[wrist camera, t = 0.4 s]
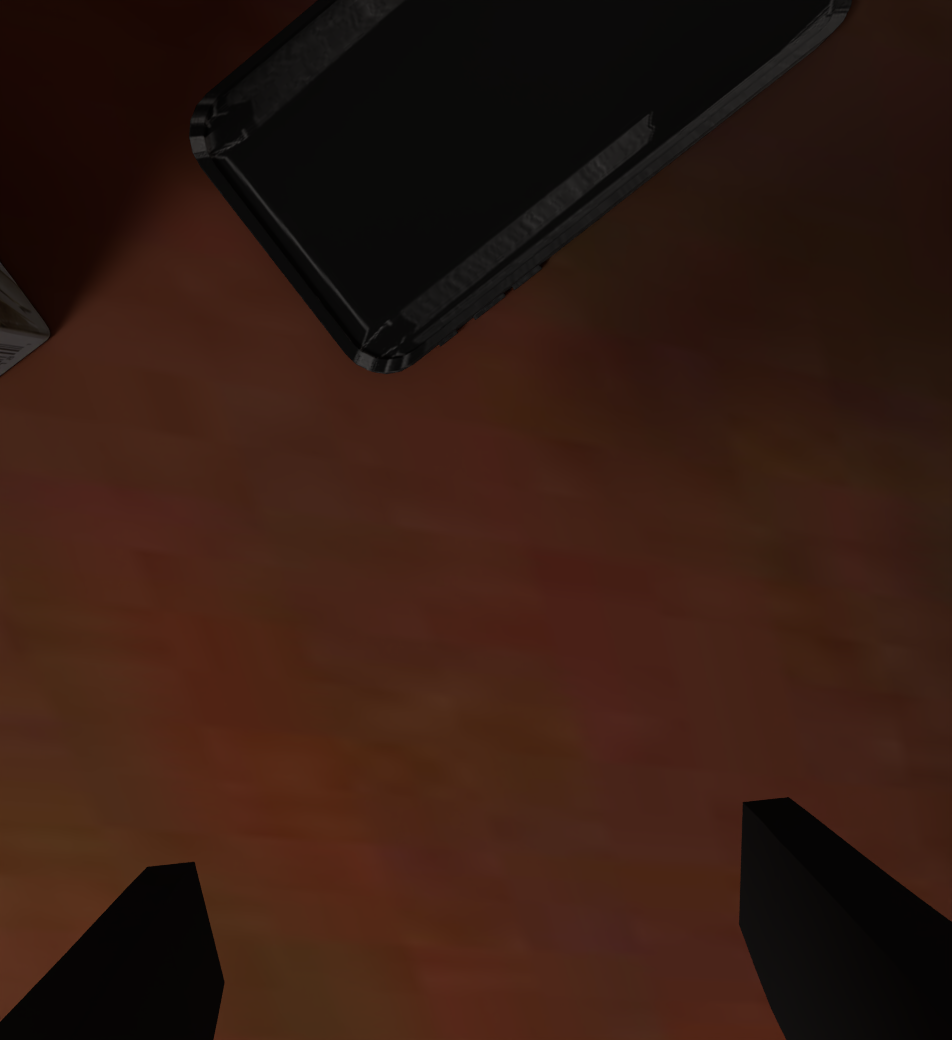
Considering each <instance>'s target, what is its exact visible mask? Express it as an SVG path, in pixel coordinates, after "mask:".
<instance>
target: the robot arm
mask: <svg viewBox="0 0 952 1040" xmlns="http://www.w3.org/2000/svg"><path fill="white" fill-rule="evenodd" d="M739 925H740V928H741V931H742V933H743V936H744V939H745V941H746V944H747V947H748V950H749V952H750V955H751V958H752V960H753V963H754V966H755V969H756V971H757V974H758V976H759V979H760V981H761V984H762V986H763V989H764V992H765V994H766V997H767V999H768V1002H769V1004H770V1007H771V1009H772V1011H773V1013H774V1015H775V1017H776V1019H777V1022H778V1024H779V1026H780V1028H781V1030H782V1032H783V1034H784V1036H785V1038H786V1040H952V922H951V921H950V920H948V919H947V918H946V917H944V916H943V915H941V914H940V913H939V912H937V911H936V910H935V909H933V908H932V907H931V906H929V905H928V904H927V903H925V902H924V901H923V900H921V899H920V898H919V897H917V896H916V895H915V894H913V893H912V892H911V891H909V890H908V889H907V888H905V887H904V886H903V885H901V884H900V883H899V882H897V881H896V880H895V879H893V878H892V877H891V876H889V875H888V874H887V873H886V872H884V871H883V870H882V869H880V868H879V867H878V866H877V865H875V864H874V863H873V862H871V861H870V860H869V859H867V858H866V857H865V856H864V855H862V854H861V853H860V852H858V851H857V850H856V849H855V848H853V847H852V846H851V845H849V844H848V843H847V842H846V841H844V840H843V839H842V838H841V837H839V836H838V835H837V834H835V833H834V832H833V831H832V830H830V829H829V828H828V827H827V826H825V825H824V824H823V823H821V822H820V821H819V820H818V819H816V818H815V817H814V816H812V815H811V814H810V813H809V812H807V811H806V810H805V809H803V808H802V807H801V806H799V805H798V804H797V803H796V802H794V801H793V800H792V799H790V798H789V797H787V798H777V799H768V800H759V801H750V802H743V817H742V850H741V882H740V914H739ZM224 983H225V982H224V978H223V974H222V970H221V966H220V962H219V958H218V954H217V950H216V946H215V942H214V938H213V934H212V930H211V926H210V922H209V918H208V914H207V910H206V906H205V902H204V898H203V894H202V890H201V886H200V882H199V878H198V874H197V870H196V866H195V862H188V863H179V864H170V865H160V866H151V867H147V868H146V869H145V870H144V871H143V872H142V873H141V874H140V875H139V876H138V877H137V878H136V879H135V880H134V881H133V882H132V883H131V884H130V885H129V886H128V887H127V888H126V889H125V890H124V892H123V893H122V894H121V895H120V896H119V897H118V898H117V899H116V900H115V901H114V902H113V903H112V904H111V905H110V906H109V908H108V909H107V910H106V911H105V912H104V913H103V914H102V915H101V916H100V917H99V918H98V919H97V920H96V922H95V923H94V924H93V925H92V926H91V927H90V928H89V929H88V930H87V931H86V932H85V933H84V934H83V935H82V937H81V938H80V939H79V940H78V941H77V942H76V943H75V944H74V945H73V946H72V947H71V948H70V949H69V950H68V952H67V953H66V954H65V955H64V956H63V957H62V958H61V959H60V960H59V961H58V962H57V963H56V964H55V965H54V966H53V967H52V968H51V969H50V970H49V971H48V973H47V974H46V975H45V976H44V977H43V978H42V979H41V980H40V981H39V982H38V983H37V984H36V985H35V986H34V987H33V988H32V989H31V990H30V991H29V992H28V993H27V994H26V996H25V997H24V998H23V999H22V1000H21V1001H20V1002H19V1003H18V1004H17V1005H16V1006H15V1007H14V1008H13V1009H12V1010H11V1011H10V1012H9V1013H8V1014H7V1015H6V1016H5V1017H4V1018H3V1019H2V1021H1V1022H0V1040H213V1039H214V1034H215V1029H216V1024H217V1019H218V1014H219V1009H220V1003H221V998H222V993H223V988H224Z"/></svg>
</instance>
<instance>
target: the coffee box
mask: <svg viewBox="0 0 952 1040" xmlns="http://www.w3.org/2000/svg"><path fill="white" fill-rule="evenodd" d="M49 336H50V331H49V328H48V327H47V325H46V324H45V322H44V321H43V319H42V318H41V316H40V315H39V314H38V312H37V311H36V310H35V308H34V307H33V306H32V304H31V303H30V302H29V300H28V299H27V297H26V296H25V295H24V293H23V292H22V291H21V289H20V288H19V287H18V285H17V284H16V282H15V281H14V280H13V278H12V277H11V276H10V274H9V273H8V272H7V270H6V269H5V268H4V266H3V265H2V264H1V262H0V375H2V374H3V373H4V372H6V371H7V370H8V369H10V368H11V367H12V366H14V365H15V364H16V363H17V362H19V361H20V360H21V359H23V358H24V357H25V356H27V355H28V354H29V353H31V352H32V351H33V350H35V349H36V348H37V347H39V346H40V345H41V344H42V343H44V342H45V341H46V340H48V338H49Z"/></svg>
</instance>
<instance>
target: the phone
mask: <svg viewBox="0 0 952 1040" xmlns="http://www.w3.org/2000/svg"><path fill="white" fill-rule="evenodd" d="M851 2H852V0H318V1H317V2H315V3H314V4H313V5H312V6H311V7H309V8H308V9H307V10H306V11H305V12H303V13H302V14H301V15H300V16H299V17H297V18H296V19H295V20H294V21H293V22H292V23H290V24H289V25H288V26H287V27H286V28H284V29H283V30H282V31H281V32H280V33H278V34H277V35H276V36H275V37H274V38H272V39H271V40H270V41H269V42H268V43H266V44H265V45H264V46H263V47H262V48H261V49H259V50H258V51H257V52H256V53H255V54H253V55H252V56H251V57H250V58H249V59H247V60H246V61H245V62H244V63H243V64H241V65H240V66H239V67H238V68H237V69H236V70H234V71H233V72H232V73H231V74H230V75H228V76H227V77H226V78H225V79H224V80H222V81H221V82H220V83H219V84H218V85H216V86H215V87H214V88H213V89H212V90H210V91H209V92H208V93H207V94H206V95H205V96H204V97H203V99H202V100H201V101H200V102H199V103H198V104H197V106H196V108H195V110H194V113H193V115H192V118H191V120H190V133H189V138H190V143H191V147H192V151H193V154H194V156H195V158H196V160H197V161H198V163H199V165H200V167H201V168H202V170H203V171H204V172H205V173H206V175H207V176H208V177H209V179H210V180H211V181H212V182H213V184H214V185H215V186H216V188H217V189H218V190H219V191H220V193H221V194H222V195H223V197H224V198H225V199H226V200H227V202H228V203H229V204H230V206H231V207H232V208H233V210H234V211H235V212H236V213H237V215H238V216H239V217H240V219H241V220H242V221H243V222H244V224H245V225H246V226H247V228H248V229H249V230H250V231H251V233H252V234H253V235H254V237H255V238H256V239H257V240H258V242H259V243H260V244H261V246H262V247H263V248H264V249H265V251H266V252H267V253H268V255H269V256H270V257H271V259H272V260H273V261H274V262H275V264H276V265H277V266H278V268H279V269H280V270H281V271H282V273H283V274H284V275H285V277H286V278H287V279H288V280H289V282H290V283H291V284H292V286H293V287H294V288H295V289H296V291H297V292H298V293H299V295H300V296H301V297H302V299H303V300H304V301H305V302H306V304H307V305H308V306H309V308H310V309H311V310H312V311H313V313H314V314H315V315H316V317H317V318H318V319H319V320H320V322H321V323H322V324H323V326H324V327H325V328H326V329H327V331H328V332H329V333H330V335H331V336H332V337H333V338H334V340H335V341H336V342H337V344H338V345H339V346H340V348H341V349H342V350H343V351H344V353H345V354H346V355H347V356H348V357H349V358H350V359H351V360H352V361H353V362H355V363H356V364H357V365H359V366H361V367H363V368H365V369H367V370H369V371H372V372H376V373H384V374H389V373H395V372H400V371H402V370H404V369H406V368H408V367H410V366H411V365H413V364H414V363H416V362H417V361H418V360H420V359H421V358H422V357H423V356H425V355H426V354H427V353H428V352H430V351H431V350H432V349H434V348H435V347H436V346H437V345H440V346H442V345H443V344H444V343H446V342H447V341H448V340H449V339H451V338H452V337H453V336H455V335H456V334H457V333H458V332H457V330H458V329H459V328H460V327H462V326H463V325H464V324H465V323H467V322H468V321H469V320H471V319H472V318H473V317H474V319H475V320H476V319H477V318H479V317H480V316H481V315H482V314H484V313H485V312H486V311H488V310H489V309H490V308H491V307H493V306H494V305H495V304H496V303H498V302H499V301H500V300H502V299H503V298H504V297H505V296H506V295H505V294H504V293H505V292H506V291H508V290H509V289H510V288H511V287H513V288H514V290H515V289H517V288H518V287H519V286H521V285H522V284H523V283H524V282H526V281H527V280H528V279H530V278H531V277H532V276H533V275H535V274H536V273H537V272H538V271H540V270H541V269H542V268H541V266H540V265H541V264H542V263H543V262H545V261H546V260H547V259H548V258H550V257H551V256H552V255H553V254H555V253H556V252H557V251H559V250H560V249H561V248H562V247H564V246H565V245H566V244H568V243H569V242H570V241H571V240H573V239H574V238H575V237H576V236H578V235H579V234H580V233H582V232H583V231H584V230H585V229H587V228H588V227H589V226H590V225H592V224H593V223H594V222H596V221H597V220H598V219H599V218H601V217H602V216H603V215H605V214H606V213H607V212H608V211H610V210H611V209H612V208H613V207H615V206H616V205H617V204H619V203H620V202H621V201H622V200H624V199H625V198H626V197H627V196H629V195H630V194H631V193H633V192H634V191H635V190H636V189H638V188H639V187H640V186H642V185H643V184H644V183H645V182H647V181H648V180H649V179H650V178H652V177H653V176H654V175H656V174H657V173H658V172H659V171H661V170H662V169H663V168H664V167H666V166H667V165H668V164H670V163H671V162H672V161H673V160H675V159H676V158H677V157H679V156H680V155H681V154H682V153H684V152H685V151H686V150H687V149H689V148H690V147H691V146H693V145H694V144H695V143H696V142H698V141H699V140H700V139H701V138H703V137H704V136H705V135H707V134H708V133H709V132H710V131H712V130H713V129H714V128H716V127H717V126H718V125H719V124H721V123H722V122H723V121H724V120H726V119H727V118H728V117H730V116H731V115H732V114H733V113H735V112H736V111H737V110H738V109H740V108H741V107H742V106H744V105H745V104H746V103H747V102H749V101H750V100H751V99H752V98H754V97H755V96H756V95H758V94H759V93H760V92H761V91H763V90H764V89H765V88H767V87H768V86H769V85H770V84H772V83H773V82H774V81H775V80H777V79H778V78H779V77H781V76H782V75H783V74H784V73H786V72H787V71H788V70H789V69H791V68H792V67H793V66H795V65H796V64H797V63H798V62H800V61H801V60H802V59H804V58H805V57H806V56H807V55H809V54H810V53H811V52H812V51H814V50H815V49H816V48H817V47H818V46H819V45H820V44H821V43H822V42H823V41H824V40H825V39H826V38H827V37H828V36H829V35H830V34H831V33H832V32H833V31H834V30H835V29H836V28H837V27H838V26H839V25H840V24H841V23H842V22H843V20H844V18H845V16H846V14H847V12H848V11H849V9H850V7H851Z"/></svg>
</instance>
